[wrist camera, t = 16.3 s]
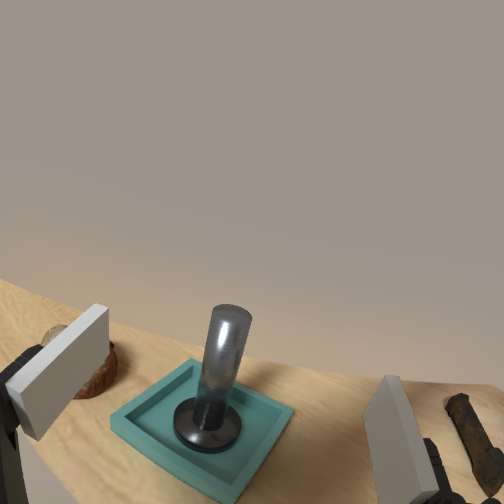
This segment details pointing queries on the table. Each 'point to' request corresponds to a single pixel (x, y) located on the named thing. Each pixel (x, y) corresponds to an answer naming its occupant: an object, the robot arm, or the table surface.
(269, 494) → the table surface
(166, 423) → the tray
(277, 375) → the table surface
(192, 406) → the joystick
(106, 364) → the bread roll
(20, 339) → the table surface
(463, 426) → the hand tool
